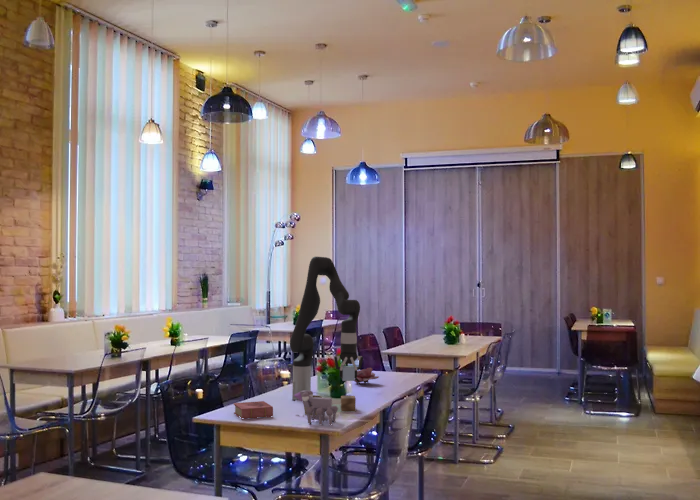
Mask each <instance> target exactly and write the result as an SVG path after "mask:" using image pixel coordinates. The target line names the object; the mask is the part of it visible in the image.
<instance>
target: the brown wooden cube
mask: <svg viewBox="0 0 700 500" xmlns="http://www.w3.org/2000/svg"><path fill="white" fill-rule="evenodd" d="M356 400H357V399H356V395H341V396H340V404H341V411H355V410H356V402H357V401H356Z"/></svg>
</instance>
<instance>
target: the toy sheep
mask: <svg viewBox="0 0 700 500" xmlns="http://www.w3.org/2000/svg"><path fill="white" fill-rule="evenodd" d="M313 395H314V392H313V391H312V390H311V391H308V390H303V391H300V392H299V393H297V394H295V395H293V396H295V397H296V398H298V399H297V400H300V401H301V402H302V403H303V407H308V408H307V409H306V413H307V415H306V416H307V423H311V424H312V421H315V420H314V419H315V418H316V416H318V425H319V424H322V425H323V422H325V417H326V416H328V425H329V424H330V425H331V424H332V425H333V422H332V421H335V422H336V417H337V413H338V412H337V411H338V408H337V406H332V404H333V403H332V402H333V399H332V398H331V397H322V398H320V397H314V398H313ZM311 403H312V404H311ZM311 406H312V407H311ZM310 407H311V408H310ZM312 412H313V413H312ZM315 413H317V415H315ZM311 414H312V415H311ZM332 425H331V426H332Z"/></svg>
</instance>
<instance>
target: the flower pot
mask: <svg viewBox="0 0 700 500" xmlns="http://www.w3.org/2000/svg"><path fill="white" fill-rule="evenodd" d="M314 397H320V398H323V396H322V395H321V396H320V395H316V394H313V398H314ZM311 404H312V403H311ZM303 407H304V406H303ZM311 407H312V406H311ZM311 407H310V408H311ZM307 408H308V407H304V416H307V413H306V409H307ZM312 413H313V412H312ZM311 416H312V414H311ZM315 416H318V415H317V413H315Z"/></svg>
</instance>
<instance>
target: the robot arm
mask: <svg viewBox="0 0 700 500" xmlns="http://www.w3.org/2000/svg"><path fill="white" fill-rule="evenodd" d="M319 276H326V277H327V278H328V279H329V292H330V293H331V296H332V297H333V299H334V300H335V303H336V307H337V311H338V312H339V314H341V315H343V316H345V315H346V316H348V315H349V316H348V318H347V319H344V320H342V321H341V323H340V324H341V327H340V328H341V332H340V333H341V334H340V353H339V355H334V356H333V358H334V364H335V370H339V378H341V380H342V379H343V367H344V366H345V365H352V366H353V367H354V368H355V379H356V377H357V371H358V370H359V371H360V370H362V366H363V362H364V361H363V360H364V356H362V355H358V353H357V352H358V351H357V349H358V348H357V346H358V345H357V344H358V340H357V339H358V338H357V323H358V319H359V316H360V311H361V305H360V302H359V301H358V300H357V299H349V297H350V294H349V292H348V290H347V289H346V287H345V286H344V284H343V283H342V281H341V278H340V276H339V273H338V271H337V269H336V266H335V264H334V262H333V260H332V259H331V258H330V257H326V256H312V258H311V259H310V262H309V265H308V270H307V276H306V282H305V286H304V292H303V296H302V299H301V303H300V308H299V311H298V315H297V319H296V323H295V325H294V327H293V328H294V329H293V331H292V334H291V337H290V342H289V349H290V351H291V352H293V353H295V354H299V355H298V356H297V357H296V358H294V359H293V360H292V389H291V390H292V395H291V396H292V399H291V400H292V401H296V400H299V399H298V398H296V397H295V396H293V395H295V394H297V393H299V392H300V391H303V390H308V391H312V390H311V389H312V388H311V383H312V382H311V381H312V380H311V379H312V372H311V371H312V368H311V367H312V362H313V356H314V354H313V353H314V340H313V337H312V336H311V334H308V333H306V332H307V329H308V327H309V326H310V324H311V323H312V322H313V320H314V319H315V318H316V317H317V315H318V312H319V309H320V305H321V297H320V294H319V291H318V287H317V281H318V278H319ZM357 359H358V361H359V362H358V366H357V365H356V360H357ZM339 360H341V361H342V362H341V365H340V366H339Z"/></svg>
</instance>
